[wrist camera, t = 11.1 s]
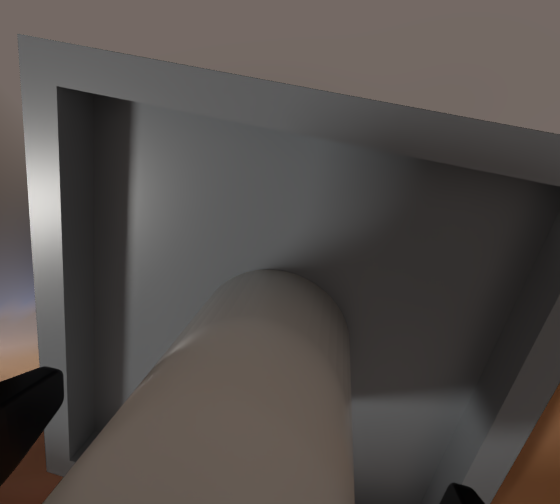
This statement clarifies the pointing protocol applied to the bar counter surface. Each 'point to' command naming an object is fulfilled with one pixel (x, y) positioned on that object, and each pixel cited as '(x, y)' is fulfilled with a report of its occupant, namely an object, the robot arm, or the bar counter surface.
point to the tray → (296, 250)
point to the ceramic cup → (234, 408)
